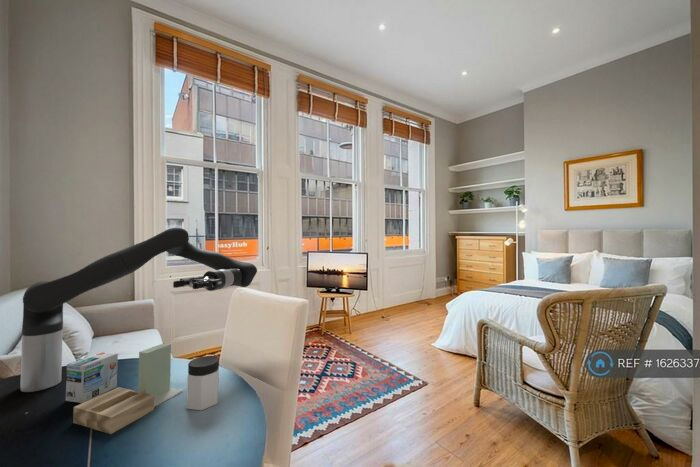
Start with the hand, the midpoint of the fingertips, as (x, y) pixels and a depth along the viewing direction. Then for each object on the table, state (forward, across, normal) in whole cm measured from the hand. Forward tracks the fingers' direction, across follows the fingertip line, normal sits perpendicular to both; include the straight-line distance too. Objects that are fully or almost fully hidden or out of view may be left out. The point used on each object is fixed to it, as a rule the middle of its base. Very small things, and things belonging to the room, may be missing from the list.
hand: (183, 285), depth 101 cm
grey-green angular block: (+10, 0, +32) cm, 33 cm away
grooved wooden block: (+21, 0, +32) cm, 38 cm away
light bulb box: (+15, -19, +32) cm, 40 cm away
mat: (+10, 0, +32) cm, 34 cm away
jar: (+8, +17, +32) cm, 37 cm away
